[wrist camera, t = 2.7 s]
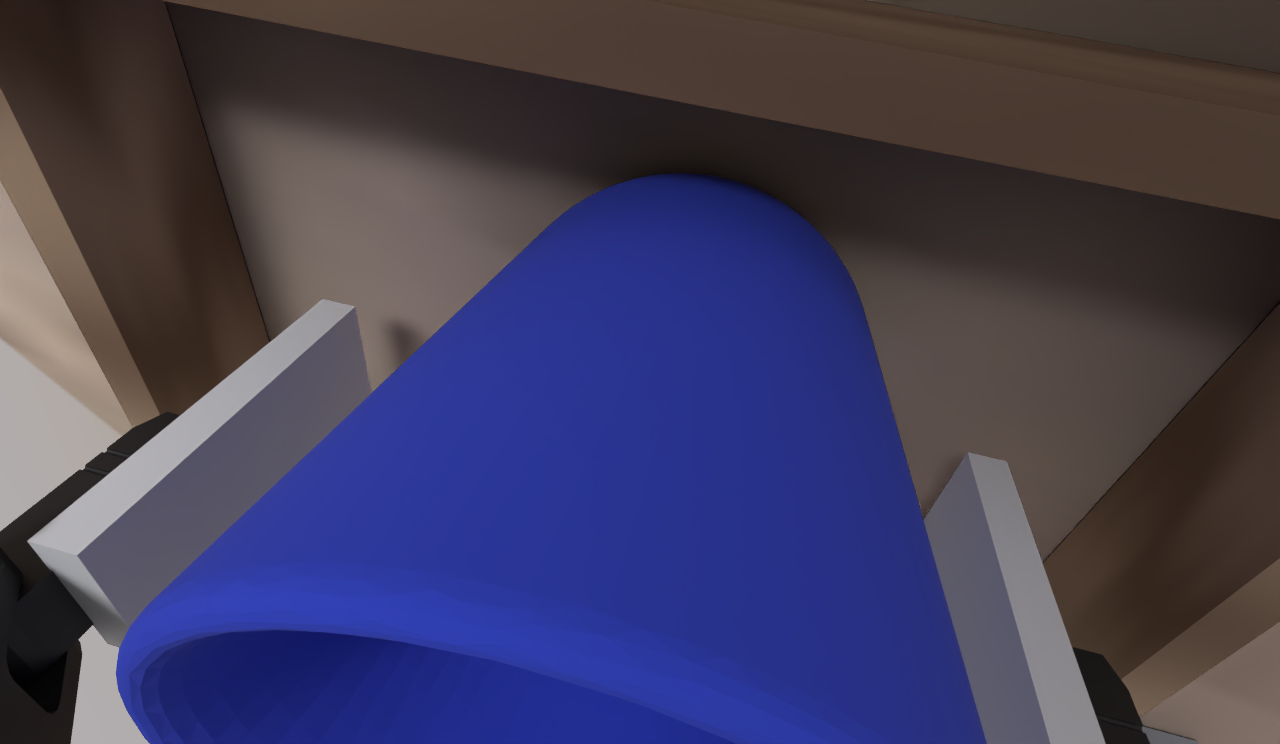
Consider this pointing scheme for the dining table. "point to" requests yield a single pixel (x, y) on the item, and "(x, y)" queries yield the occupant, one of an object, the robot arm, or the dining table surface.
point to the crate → (731, 81)
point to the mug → (589, 519)
